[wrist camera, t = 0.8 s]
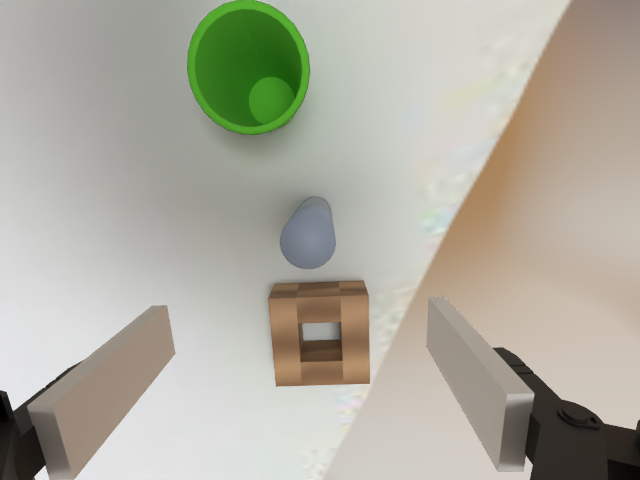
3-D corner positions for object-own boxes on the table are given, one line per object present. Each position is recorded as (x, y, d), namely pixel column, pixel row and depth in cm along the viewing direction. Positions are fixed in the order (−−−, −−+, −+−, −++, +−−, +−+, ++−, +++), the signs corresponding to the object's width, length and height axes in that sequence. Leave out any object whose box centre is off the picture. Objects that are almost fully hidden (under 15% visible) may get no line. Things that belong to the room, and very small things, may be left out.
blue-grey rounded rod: (299, 197, 35) (277, 215, 19) (330, 195, 35) (334, 213, 19) (300, 228, 36) (282, 270, 20) (331, 226, 36) (336, 268, 20)
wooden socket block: (275, 284, 37) (268, 298, 33) (363, 280, 37) (368, 295, 33) (281, 362, 39) (276, 386, 35) (364, 360, 39) (369, 383, 35)
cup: (238, 151, 34) (198, 140, 23) (225, 62, 32) (174, 5, 21) (318, 142, 34) (315, 127, 23) (309, 52, 32) (302, -10, 21)
